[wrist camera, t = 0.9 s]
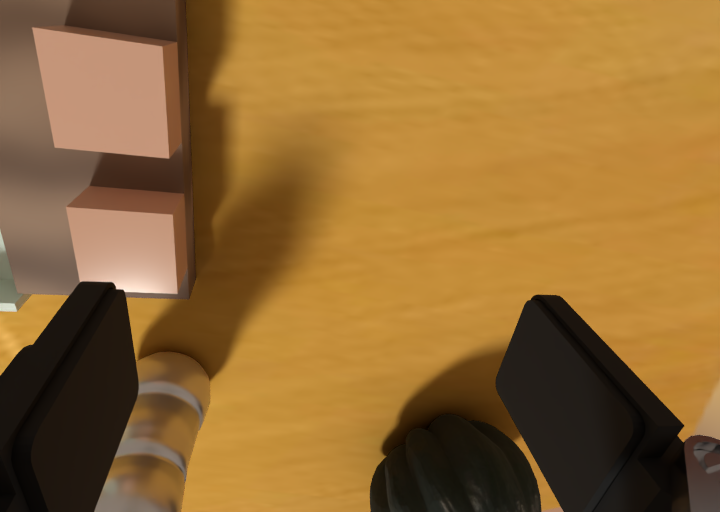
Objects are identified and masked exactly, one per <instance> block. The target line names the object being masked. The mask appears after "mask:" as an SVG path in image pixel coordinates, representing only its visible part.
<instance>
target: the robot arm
mask: <svg viewBox="0 0 720 512" xmlns="http://www.w3.org/2000/svg"><path fill="white" fill-rule="evenodd" d="M496 389H497V392H498V394H499V396H500V397H501V399H502V401H503V403H504V405H505V407H506V408H507V410H508V412H509V414H510V416H511V417H512V419H513V421H514V423H515V425H516V426H517V428H518V430H519V432H520V434H521V435H522V437H523V439H524V441H525V443H526V444H527V446H528V448H529V450H530V452H531V454H532V455H533V457H534V459H535V461H536V463H537V464H538V466H539V468H540V470H541V472H542V473H543V475H544V477H545V479H546V481H547V482H548V484H549V486H550V488H551V490H552V491H553V493H554V495H555V497H556V499H557V501H558V502H559V504H560V506H561V508H562V509H563V511H564V512H720V440H718V439H715V438H712V437H709V436H703V435H695V436H690V437H689V438H688V439H686V440H685V442H684V443H683V442H682V441H681V440H680V438H679V437H678V436H677V435H678V434H679V432H680V431H681V430H682V428H683V427H684V425H683V424H682V423H681V422H680V421H679V419H678V418H677V417H676V416H675V415H674V414H673V413H672V412H671V411H670V410H669V409H668V408H667V407H666V406H665V405H664V404H663V403H662V402H661V401H660V400H659V399H658V398H657V396H656V395H655V394H654V393H653V392H652V391H651V390H650V389H649V388H648V387H647V386H646V385H645V384H644V383H643V382H642V381H641V380H640V379H639V378H638V377H637V376H636V375H635V373H634V372H633V371H632V370H631V369H630V368H629V367H628V366H627V365H626V364H625V363H624V362H623V361H622V360H621V359H620V358H619V357H618V356H617V355H616V354H615V353H614V351H613V350H612V349H611V348H610V347H609V346H608V345H607V344H606V343H605V342H604V341H603V340H602V339H601V338H600V337H599V336H598V335H597V334H596V333H595V332H594V331H593V330H592V328H591V327H590V326H589V325H588V324H587V323H586V322H585V321H584V320H583V319H582V318H581V317H580V316H579V315H578V314H577V313H576V312H575V311H574V310H573V309H572V308H571V307H570V305H569V304H568V303H567V302H566V301H565V300H564V299H563V298H562V297H560V296H557V295H535V296H533V297H532V298H531V300H529V301H527V302H526V303H525V305H524V308H523V310H522V313H521V315H520V318H519V321H518V323H517V326H516V328H515V331H514V333H513V336H512V338H511V341H510V344H509V346H508V349H507V351H506V354H505V356H504V359H503V361H502V364H501V367H500V369H499V372H498V374H497V377H496ZM138 390H139V380H138V373H137V367H136V360H135V354H134V347H133V340H132V334H131V327H130V321H129V314H128V308H127V301H126V295H125V292H124V290H123V289H116V286H115V284H114V283H113V282H93V281H82V282H80V283H79V284H78V285H77V286H76V288H75V289H74V290H73V292H72V293H71V294H70V296H69V297H68V298H67V300H66V301H65V302H64V304H63V305H62V306H61V308H60V309H59V310H58V312H57V313H56V314H55V316H54V317H53V319H52V320H51V321H50V323H49V324H48V325H47V327H46V328H45V329H44V331H43V332H42V333H41V335H40V336H39V337H38V339H37V340H36V341H35V343H34V344H33V345H28V346H26V347H24V348H23V349H22V350H21V351H20V352H19V353H18V354H17V355H16V356H15V358H14V359H13V360H12V362H11V363H10V364H9V365H8V367H7V368H6V369H5V371H4V372H3V373H2V375H1V376H0V512H94V511H95V508H96V505H97V503H98V500H99V497H100V495H101V492H102V489H103V487H104V484H105V482H106V479H107V476H108V474H109V471H110V468H111V466H112V463H113V460H114V458H115V455H116V453H117V450H118V447H119V445H120V442H121V439H122V437H123V434H124V431H125V429H126V426H127V423H128V421H129V418H130V416H131V413H132V410H133V408H134V405H135V402H136V400H137V396H138Z"/></svg>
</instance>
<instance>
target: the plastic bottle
mask: <svg viewBox="0 0 720 512" xmlns="http://www.w3.org/2000/svg"><path fill="white" fill-rule="evenodd" d="M136 367H137V373H138V380H139V390H138V396H137V400H136V402H135V405H134V408H133V410H132V413H131V416H130V418H129V421H128V423H127V426H126V429H125V431H124V434H123V437H122V439H121V442H120V445H119V447H118V450H117V453H116V455H115V458H114V460H113V463H112V466H111V468H110V471H109V474H108V476H107V479H106V482H105V484H104V487H103V489H102V492H101V495H100V497H99V500H98V503H97V505H96V508H95V511H94V512H181V509H182V502H183V495H184V489H185V481H186V475H187V469H188V464H189V461H190V457H191V454H192V451H193V447H194V444H195V441H196V437H197V434H198V431H199V430H200V428H201V425H202V423H203V421H204V418H205V416H206V413H207V410H208V407H209V404H210V381H209V377H208V375H207V373H206V372H205V370H204V369H203V368H202V367H201V365H200V364H199V363H198V362H197V361H195V360H194V359H193V358H191V357H189V356H187V355H184V354H181V353H177V352H168V351H167V352H158V353H154V354H151V355H149V356H147V357H144V358H142V359H140V360H139V361H137V362H136Z"/></svg>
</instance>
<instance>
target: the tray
mask: <svg viewBox="0 0 720 512" xmlns="http://www.w3.org/2000/svg"><path fill="white" fill-rule="evenodd" d="M31 295H32V294H18V293H17V289H16V286H15V282H14V278H13V275H12V271H11V267H10V264H9V260H8V256H7V253H6V249H5V245H4V242H3V238H2V234H1V231H0V311H18V310H19V309H20V308H21V306H22V305H23V304H24V303H25V302H26V301H27V300H28V299H29V297H30V296H31Z"/></svg>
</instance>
